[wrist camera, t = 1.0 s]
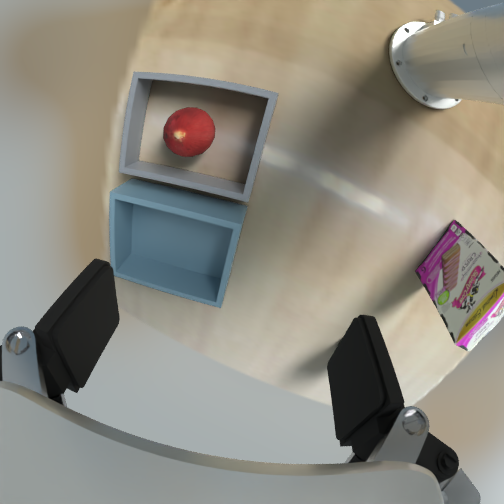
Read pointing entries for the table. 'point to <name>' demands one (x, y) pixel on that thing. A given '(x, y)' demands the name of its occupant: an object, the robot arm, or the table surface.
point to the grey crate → (175, 175)
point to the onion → (189, 132)
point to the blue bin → (174, 239)
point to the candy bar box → (464, 286)
